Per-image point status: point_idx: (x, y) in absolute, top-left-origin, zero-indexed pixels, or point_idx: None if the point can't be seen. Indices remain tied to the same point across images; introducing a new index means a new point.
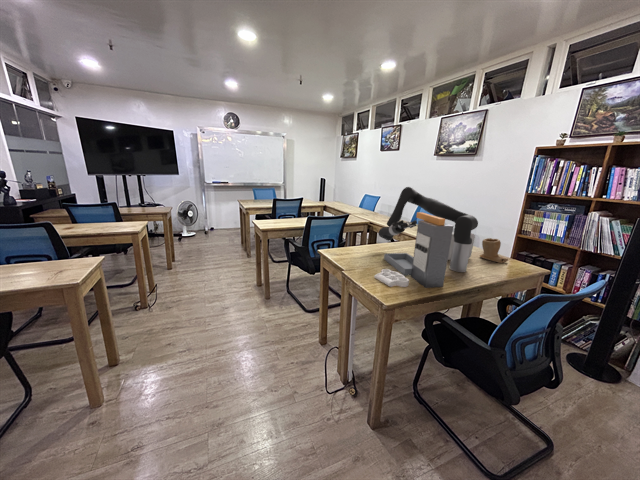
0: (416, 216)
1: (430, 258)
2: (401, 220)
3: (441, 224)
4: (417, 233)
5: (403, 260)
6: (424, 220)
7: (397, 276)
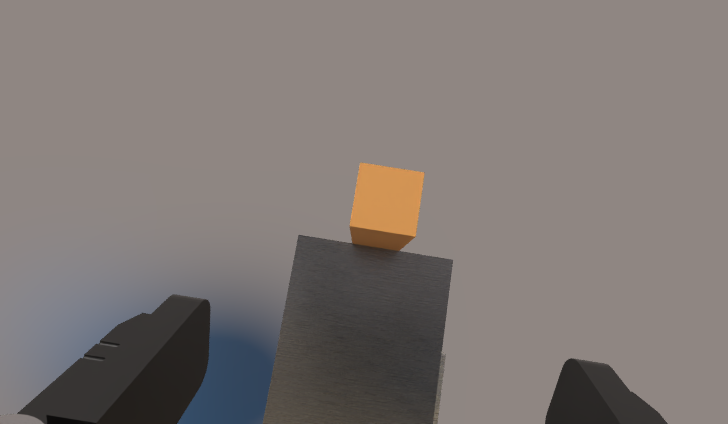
0: (417, 222)
1: None
2: (623, 383)
3: None
4: (443, 364)
5: None
6: (400, 251)
7: None
